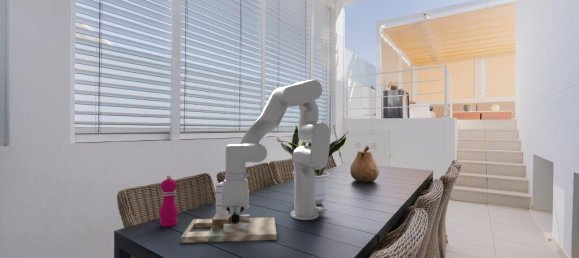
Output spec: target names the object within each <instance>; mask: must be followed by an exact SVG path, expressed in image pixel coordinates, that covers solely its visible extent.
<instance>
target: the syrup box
mask: <svg viewBox="0 0 579 258" xmlns="http://www.w3.org/2000/svg"><path fill="white" fill-rule="evenodd" d="M223 182H224V181H221V182H218V183H216V184H215V214H230V213H229V212H228V211H227V210H223V209H221V206H222V188H223Z"/></svg>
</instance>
